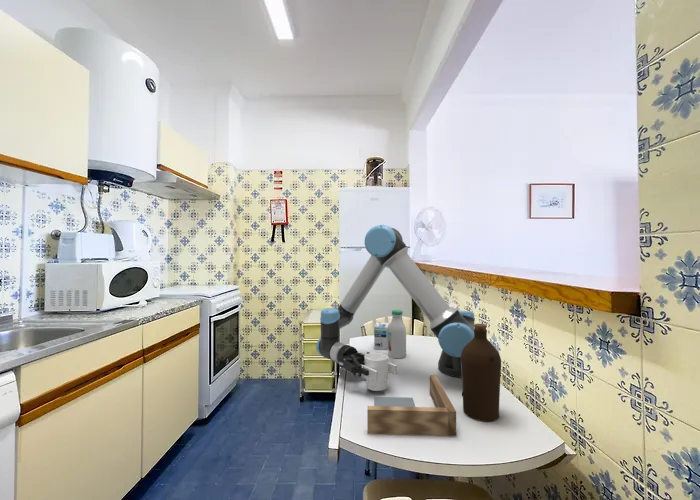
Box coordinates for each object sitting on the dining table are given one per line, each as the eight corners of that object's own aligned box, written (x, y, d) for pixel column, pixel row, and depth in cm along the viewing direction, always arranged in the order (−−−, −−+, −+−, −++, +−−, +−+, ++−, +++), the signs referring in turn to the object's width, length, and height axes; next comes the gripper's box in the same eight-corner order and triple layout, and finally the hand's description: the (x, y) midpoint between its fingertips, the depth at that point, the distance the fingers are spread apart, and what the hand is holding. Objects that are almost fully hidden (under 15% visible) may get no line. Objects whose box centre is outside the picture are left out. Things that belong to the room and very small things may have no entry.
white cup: (382, 394, 100) (381, 361, 100) (360, 388, 104) (359, 357, 104) (392, 385, 107) (392, 355, 107) (371, 380, 111) (371, 351, 111)
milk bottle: (408, 355, 142) (408, 310, 142) (401, 360, 135) (401, 312, 136) (392, 352, 146) (392, 308, 146) (385, 357, 140) (385, 311, 140)
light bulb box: (388, 350, 149) (388, 327, 149) (373, 349, 151) (373, 326, 151) (390, 343, 160) (389, 322, 160) (376, 343, 161) (376, 321, 161)
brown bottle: (507, 413, 90) (507, 324, 91) (491, 427, 83) (491, 331, 83) (471, 400, 98) (471, 319, 98) (453, 412, 91) (453, 324, 91)
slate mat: (412, 398, 100) (412, 397, 100) (418, 418, 88) (418, 417, 88) (373, 397, 100) (373, 396, 100) (374, 417, 88) (374, 416, 88)
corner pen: (435, 393, 103) (435, 374, 103) (456, 436, 79) (456, 411, 79) (367, 391, 105) (367, 373, 105) (367, 433, 81) (367, 409, 81)
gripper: (365, 359, 126) (409, 376, 108) (321, 371, 114) (361, 393, 95) (365, 340, 126) (408, 354, 108) (321, 349, 114) (361, 368, 95)
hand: (386, 372), depth 102 cm, fingers closed on white cup, 8 cm apart
